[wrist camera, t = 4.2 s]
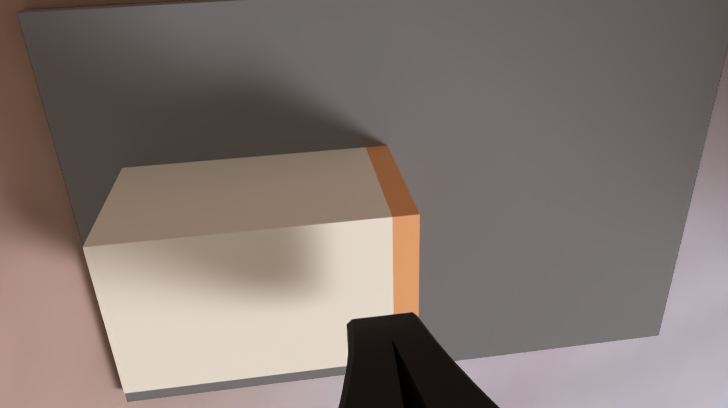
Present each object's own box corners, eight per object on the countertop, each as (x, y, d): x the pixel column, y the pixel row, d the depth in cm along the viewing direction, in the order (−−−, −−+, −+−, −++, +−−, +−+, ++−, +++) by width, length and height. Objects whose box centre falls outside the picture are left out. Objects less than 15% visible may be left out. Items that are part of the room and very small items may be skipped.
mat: (735, -31, 16) (745, -29, 16) (652, 328, 22) (658, 335, 22) (22, 9, 14) (17, 12, 14) (129, 392, 20) (127, 401, 20)
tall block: (419, 214, 13) (82, 247, 13) (418, 356, 15) (124, 393, 14) (387, 145, 17) (122, 167, 16) (389, 268, 19) (151, 293, 18)
